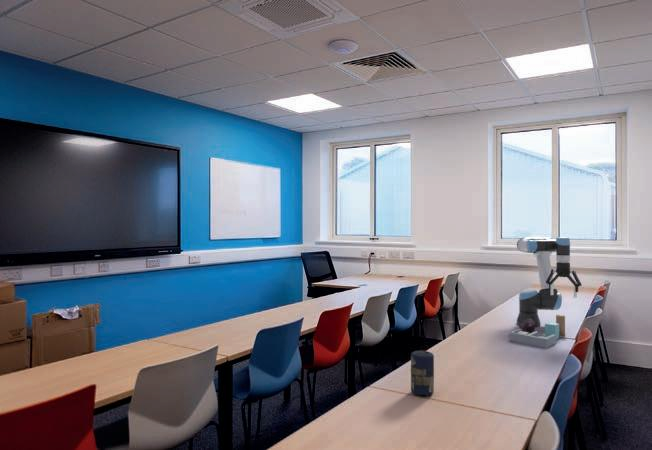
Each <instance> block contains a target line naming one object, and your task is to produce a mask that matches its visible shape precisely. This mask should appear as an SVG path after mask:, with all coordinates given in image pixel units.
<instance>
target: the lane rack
mask: <svg viewBox="0 0 652 450" xmlns="http://www.w3.org/2000/svg"><path fill="white" fill-rule="evenodd" d="M519 331H521V332H522V329H520V328H518V329H517V328H516V329H515V330H512V331H509V332H508V338H509V339H508V341H509V342H514V343H519V344H524V345H530V346H535V347H539V348H546V349H547V348H549V347H551V346H553V345H555V344H557V340H556V335H554V334H553V335H550V336H548V337H546V338H545V337H541V336H539V331H533V333H528V335H525V334H519V333H518V332H519Z"/></svg>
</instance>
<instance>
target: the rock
mask: <svg viewBox="0 0 652 450" xmlns="http://www.w3.org/2000/svg"><path fill="white" fill-rule="evenodd" d="M536 325H537V324H536V322H535V321H534V320H533V319H527V320H525V321H523V322H522V323H521V324H520V325H519V329H522V332H528V334H531V333H533V332H535V330H536Z"/></svg>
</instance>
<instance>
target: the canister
mask: <svg viewBox="0 0 652 450" xmlns="http://www.w3.org/2000/svg"><path fill="white" fill-rule="evenodd" d="M434 359H435V355H434V354H433V352H431V351H429V350H428V351H427V350H415V351H413V352H411V354H410V390H411V392H412V394H414V393H415V394H414V395H416V394H418V395H417V396H420V395H429V396H431V394H432V395H433V394H434V393H435V392H434V391H435V387H434V386H435V384H434V383H435V382H434V381H435V367H434V366H435V360H434Z"/></svg>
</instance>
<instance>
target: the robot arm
mask: <svg viewBox="0 0 652 450" xmlns="http://www.w3.org/2000/svg"><path fill="white" fill-rule="evenodd" d="M570 240H571V239H570V237H568V236H563V237H562V236H559V237H556V239H551V238H550V237H549V236H526V237H522V238H519V239H518V240H517V242H516V248H517V249H518V251H520V252H522V253H527V254H529V253H530V254H533V257H535V258H536V264H537V271H538V278H539V284H540V288H539V290H536V289H528V290H523V291H520V292H519V295H518V301H519V302H518V306H519V307H518V308H519V309H518V310H519V312H518V316H517V318H516V324H517V326H520V324H521V323H522V322H523V321H525V320H527V319H533V320H534V321H535V322H536V324H537V325H536V327H537V328H538V327H540V326H541V325H542V324H541V319H540V316H539V313H538V312H539V311H538V310H540V311H541V310H542V311H558V310H560V309H561V306H562V304H563V303H562V302H563V298H562V297H563V295H562V293H560V292H558V289H557V288H556V287H555V282H556V280H558V278H567V279H568V280H569V281H570V282H571V283H572V284H573V298H577V294H578V292H579V287H581V286H582V282H581V280H580V278H579V277H578V274H577V271H576V270H575V269H574V270H571V241H570ZM553 252H555V253H556V263H555V264H556V267H555V268H556V269H554V268H552V264H551V263H552V262H551V257H550V256H551V255H552V253H553ZM555 273H556V275H555V276H554V274H555ZM536 327H535V328H536Z"/></svg>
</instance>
